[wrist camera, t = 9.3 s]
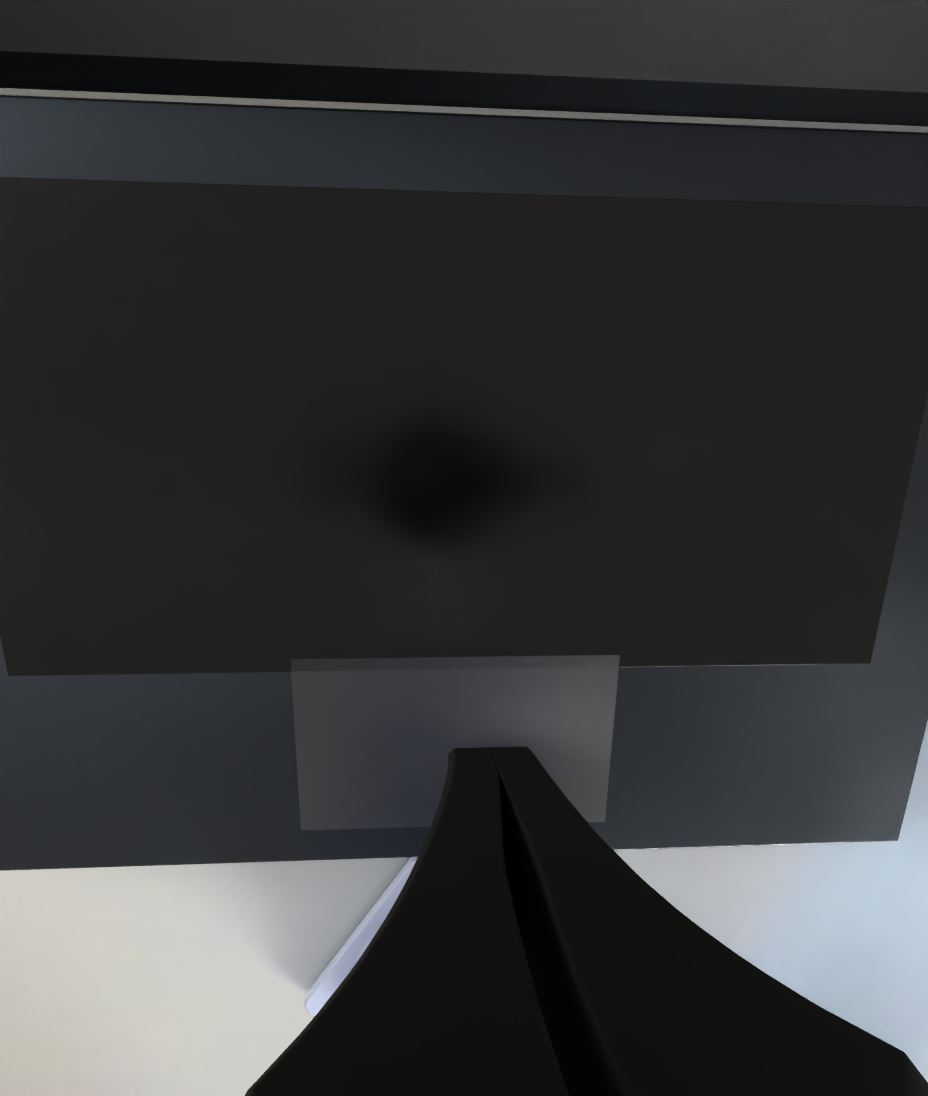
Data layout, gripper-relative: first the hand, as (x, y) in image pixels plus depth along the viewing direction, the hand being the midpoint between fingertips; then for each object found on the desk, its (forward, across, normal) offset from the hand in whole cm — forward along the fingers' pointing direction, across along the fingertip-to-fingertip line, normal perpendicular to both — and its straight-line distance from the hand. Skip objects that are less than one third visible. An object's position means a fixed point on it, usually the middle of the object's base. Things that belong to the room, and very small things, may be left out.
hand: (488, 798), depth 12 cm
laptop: (+10, 0, -2) cm, 11 cm away
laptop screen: (-1, 0, -15) cm, 15 cm away
